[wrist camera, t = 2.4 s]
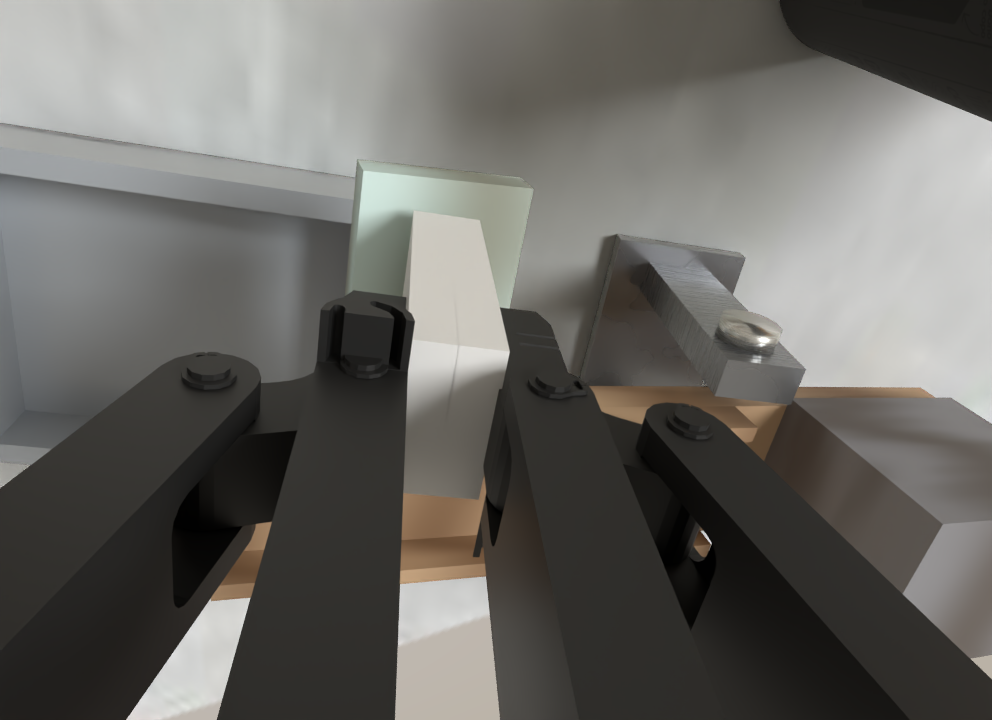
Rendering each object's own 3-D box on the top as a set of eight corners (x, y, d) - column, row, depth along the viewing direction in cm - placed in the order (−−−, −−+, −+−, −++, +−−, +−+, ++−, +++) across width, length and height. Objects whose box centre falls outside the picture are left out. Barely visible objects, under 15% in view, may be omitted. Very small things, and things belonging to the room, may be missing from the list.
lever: (214, 545, 21) (203, 791, 15) (216, 141, 16) (200, 266, 10) (862, 502, 29) (1024, 648, 23) (1000, 229, 24) (1255, 326, 18)
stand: (558, 458, 32) (600, 607, 24) (617, 234, 27) (692, 331, 20) (664, 469, 33) (737, 616, 25) (739, 252, 28) (856, 352, 21)
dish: (11, 418, 29) (-27, 459, 26) (-32, 118, 24) (-85, 133, 21) (358, 451, 31) (352, 492, 28) (388, 183, 26) (384, 204, 23)
